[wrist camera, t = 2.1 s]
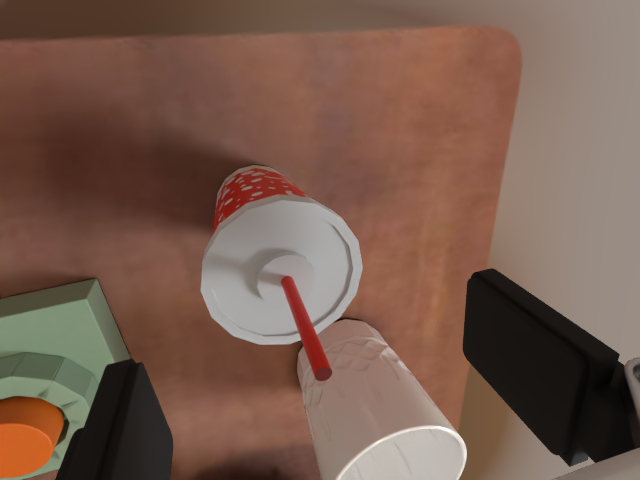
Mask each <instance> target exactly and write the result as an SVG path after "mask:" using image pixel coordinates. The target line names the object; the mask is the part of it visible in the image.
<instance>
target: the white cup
mask: <svg viewBox="0 0 640 480" xmlns="http://www.w3.org/2000/svg"><path fill="white" fill-rule="evenodd" d="M317 336H318V339H319V341H320V343H321V346H322V348H323V350H324V353H325V355H326V357H327V360H328V362H329V364H330V367H331V369H332V375H331V377H330V378H329V379H328V380H325V381H317V380H316V379H315V376H314V374H313V371H312V368H311V365H310V362H309V360H308V357H307V354H306V351H305V349H304V346H303V347H302V349H301V350H300V352H299V353H298V363H297V373H298V377H299V381H300V385H301V389H302V394H303V402H304V408H305V412H306V416H307V421H308V426H309V431H310V435H311V439H312V443H313V448H314V452H315V456H316V460H317V464H318V468H319V472H320V477H321V480H458V479H459V478H460V476H461V474H462V472H463V469H464V466H465V463H466V455H467V453H466V446H465V443H464V441H463V439H462V438H461V437H460V435H459V434H458V433H457V431H456V430H455V429H454V428H453V426H452V425H451V424H450V422H449V421H448V420H447V418H446V417H445V416H444V415H443V413H442V412H441V411H440V409H439V408H438V407H437V405H436V404H435V403H434V402H433V400H432V399H431V398H430V396H429V395H428V394H427V392H426V391H425V390H424V388H423V387H422V386H421V384H420V383H419V382H418V380H417V379H416V378H415V377H414V375H413V374H412V373H411V372H410V371H409V369H408V368H407V367H406V366H405V365H404V363H403V362H402V361H401V359H400V358H399V357H398V356H397V354H396V353H395V352H394V351H393V350H392V349H391V348H390V347H389V346H388V345H387V343H386V342H385V340H384V339H383V338H382V336H381V335H380V334H379V332H378V331H377V330H375V329H374V328H373V327H371V326H370V325H368V324H367V323H366V322H364V321H357V320H349V319H344V320H340V321H337V322H334V323H332V324H330V325H329V326H328V327H326V328H325V329H324V330H322V331H321V332H320V333H318V334H317Z"/></svg>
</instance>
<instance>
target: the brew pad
mask: <svg viewBox="0 0 640 480" xmlns="http://www.w3.org/2000/svg"><path fill="white" fill-rule="evenodd" d="M128 359H131V358H130V356H129V353H128V351H127V349H126V346H125V344H124V342H123V339H122V337H121V335H120V332H119V330H118V328H117V325H116V323H115V320H114V318H113V316H112V313H111V311H110V309H109V306H108V304H107V302H106V299H105V297H104V295H103V292H102V290H101V288H100V285H99V283H98V281H97V279H91V280H87V281H82V282H77V283H72V284H68V285H63V286H58V287H54V288H49V289H44V290H39V291H35V292H30V293H25V294H21V295H16V296H11V297H7V298H2V299H0V401H1V400H3V399H7V398H11V397H17V396H24V397H35V398H41V399H43V400H45V401H47V402H49V403H51V404H53V405H55V406H57V407H58V408H59V410H60V411H61V413H62V415H63V418H64V426H63V429H62V431H61V434H60V436H59V439H58V441H57V444H56V446H55V449H54V451H53V454H52V456H51V458H50V459H49V461H48V462H47V463H46V464H45V465H44V466H42V467H41V468H40V469H38V470H36V471H34V472H32V473H30V474H27V475H24V476H20V477H13V478H0V480H23V479H26V478H30V477H33V476H36V475H40V474H43V473H46V472H50V471H53V470H56V469H59V468H60V466H61V463H62V461H63V458H64V455H65V453H66V450H67V447H68V445H69V442H70V440H71V438H72V436H73V434H74V432H75V431H76V430H77V429H80V428H83V427H84V425H85V422H86V420H87V417H88V414H89V411H90V408H91V406H92V403H93V400H94V397H95V394H96V392H97V389H98V386H99V383H100V380H101V378H102V375H103V372H104V369H105V367H106V366H107V365H108V364H112V363H116V362H120V361H124V360H128Z"/></svg>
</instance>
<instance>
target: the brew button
mask: <svg viewBox="0 0 640 480" xmlns="http://www.w3.org/2000/svg"><path fill="white" fill-rule="evenodd" d="M63 426H64V418H63V415H62V413H61V411H60V410H59V408H58V407H57V406H55V405H53V404H51V403H49V402H47V401H45V400H43V399H41V398H35V397H24V396H17V397H11V398H7V399H3V400H1V401H0V478H13V477H20V476H24V475H27V474H30V473H32V472H34V471H36V470H38V469H40V468H41V467H42V466H44V465H45V464H46V463H47V462H48V461H49V459H50V458H51V456H52V454H53V451H54V449H55V446H56V444H57V441H58V439H59V436H60V434H61V431H62V429H63Z"/></svg>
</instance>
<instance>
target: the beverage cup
mask: <svg viewBox="0 0 640 480" xmlns="http://www.w3.org/2000/svg"><path fill="white" fill-rule="evenodd" d="M362 269H363V266H362V260H361V254H360V248H359V242H358V240H357V239H356V237H355V236H354V234H353V233H352V231H351V230H350V229H349V227H348V226H347V224H346V223H345V222H344V220H343V219H342V218H341V217H340V216H339V215H338V214H336V213H335V212H334V211H333V210H331V209H329V208H327V207H326V206H324V205H322V204H320V203H318V202H317V201H315V200H313V199H311V198H309V197H308V196H307V195H306V194H305V193H303V192H302V191H301V190H300V189H299V188H298V187H297V186H295V185H294V184H293V183H292V182H291V181H290V180H289V179H287V178H286V177H285V176H284V175H283V174H281V173H279V172H278V171H276V170H274V169H272V168H271V167H266V166H258V165H252V166H248V167H244V168H240V169H238V170H236V171H235V172H234V173H232V174H231V175H230V176H228V177H227V178H226V179H225V180H224V182H223V184H222V186H221V187H220V189H219V191H218V193H217V202H216V210H215V219H214V228H213V236H212V238H211V239H210V241H209V243H208V245H207V246H206V248H205V250H204V256H203V264H202V277H201V293H202V295H203V298H204V300H205V303H206V305H207V307H208V310H209V312H210V315H211V317H212V318H213V319H214V320H215V321H216V322H218V323H219V324H220V325H221V326H222V327H223V328H224V329H226V330H227V331H228V332H229V333H230V334H231V335H232V336H235V337H238V338H241V339H244V340H247V341H250V342H253V343H256V344H259V345H275V344H291V343H294V342H297V341H300V340H302V343H303V346H304V349H305V351H306V354H307V357H308V360H309V362H310V365H311V368H312V371H313V374H314V376H315V379H316V380H317V381H325V380H328V379H329V378H330V377H331V375H332V369H331V367H330V364H329V362H328V360H327V357H326V355H325V353H324V350H323V348H322V346H321V343H320V341H319V339H318V336H317V334H318V333H320V332H321V331H322V330H324V329H325V328H326V327H328V326H329V325H330V324H332V323H333V322H334V321H336V320H337V319H338V318H340V317H341V315H342V314H343V312H344V311H345V309H346V308H347V307H348V305H349V304H350V302H351V301H352V299H353V298H354V297H355V295H356V293H357V289H358V285H359V281H360V277H361V273H362Z"/></svg>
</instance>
